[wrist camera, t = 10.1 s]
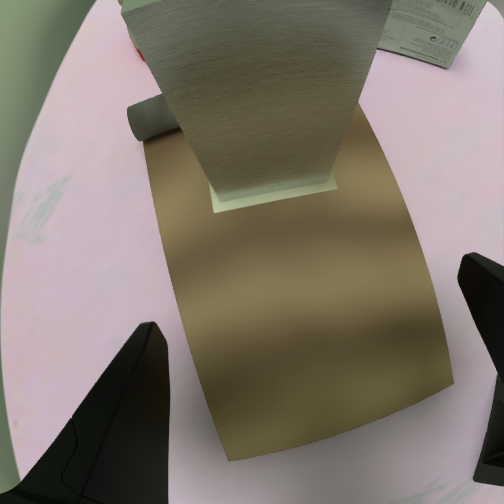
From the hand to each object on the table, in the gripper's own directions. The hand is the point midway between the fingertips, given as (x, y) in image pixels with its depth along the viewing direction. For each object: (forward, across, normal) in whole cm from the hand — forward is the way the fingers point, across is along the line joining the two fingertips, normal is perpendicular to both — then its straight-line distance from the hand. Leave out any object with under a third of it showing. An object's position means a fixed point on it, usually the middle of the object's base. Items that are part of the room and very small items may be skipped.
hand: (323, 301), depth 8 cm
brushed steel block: (+12, 0, 0) cm, 12 cm away
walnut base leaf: (+9, 0, +4) cm, 10 cm away
